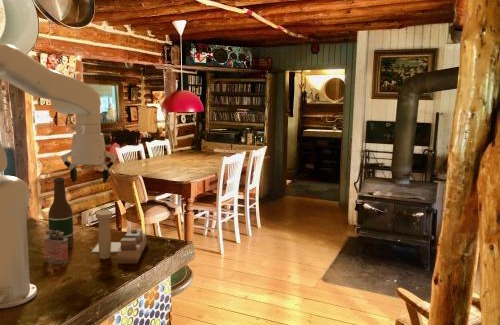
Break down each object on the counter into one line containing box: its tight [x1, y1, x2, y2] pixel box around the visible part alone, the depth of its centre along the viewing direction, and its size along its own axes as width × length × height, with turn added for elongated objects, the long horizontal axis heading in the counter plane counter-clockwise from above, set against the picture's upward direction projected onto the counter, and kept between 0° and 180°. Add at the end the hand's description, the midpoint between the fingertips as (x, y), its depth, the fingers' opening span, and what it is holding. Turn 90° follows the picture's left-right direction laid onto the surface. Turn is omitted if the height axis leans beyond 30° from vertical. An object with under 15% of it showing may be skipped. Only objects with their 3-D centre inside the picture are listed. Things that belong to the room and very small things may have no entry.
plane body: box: [116, 228, 147, 264], centre depth 139 cm, size 18×6×7 cm, turn 5°
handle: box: [95, 209, 113, 260], centre depth 134 cm, size 5×6×15 cm
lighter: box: [43, 229, 70, 265], centre depth 130 cm, size 8×3×10 cm, turn 74°
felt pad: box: [91, 241, 121, 254], centre depth 144 cm, size 9×9×1 cm
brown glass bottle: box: [47, 177, 74, 250], centre depth 142 cm, size 8×8×24 cm
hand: (89, 181), depth 137 cm, fingers open, 9 cm apart
